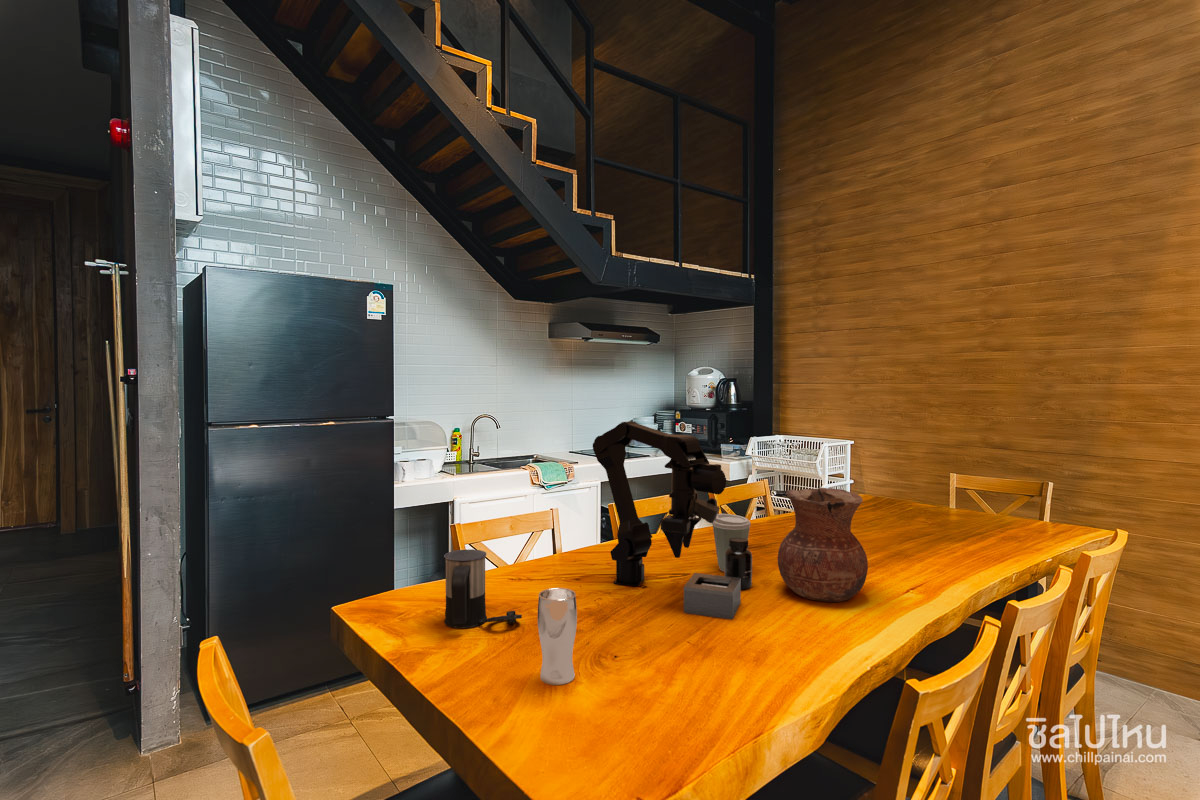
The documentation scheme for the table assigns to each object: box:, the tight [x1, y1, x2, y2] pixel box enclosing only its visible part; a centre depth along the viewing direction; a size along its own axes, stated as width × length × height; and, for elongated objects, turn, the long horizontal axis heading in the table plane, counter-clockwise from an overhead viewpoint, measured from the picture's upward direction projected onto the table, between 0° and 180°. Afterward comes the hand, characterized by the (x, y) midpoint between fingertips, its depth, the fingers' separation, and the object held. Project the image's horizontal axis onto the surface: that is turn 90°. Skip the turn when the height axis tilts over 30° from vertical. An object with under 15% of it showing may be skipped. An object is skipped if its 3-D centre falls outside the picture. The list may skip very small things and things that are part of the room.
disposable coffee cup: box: [711, 513, 751, 573], centre depth 176 cm, size 11×11×15 cm
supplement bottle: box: [724, 538, 753, 591], centre depth 163 cm, size 7×7×12 cm
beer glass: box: [537, 587, 578, 686], centre depth 113 cm, size 7×7×15 cm
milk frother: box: [443, 548, 523, 629], centre depth 138 cm, size 14×16×15 cm
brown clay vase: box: [776, 487, 869, 603], centre depth 157 cm, size 22×21×25 cm
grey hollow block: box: [683, 572, 742, 620], centre depth 147 cm, size 11×11×6 cm
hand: (682, 552), depth 154 cm, fingers open, 9 cm apart
